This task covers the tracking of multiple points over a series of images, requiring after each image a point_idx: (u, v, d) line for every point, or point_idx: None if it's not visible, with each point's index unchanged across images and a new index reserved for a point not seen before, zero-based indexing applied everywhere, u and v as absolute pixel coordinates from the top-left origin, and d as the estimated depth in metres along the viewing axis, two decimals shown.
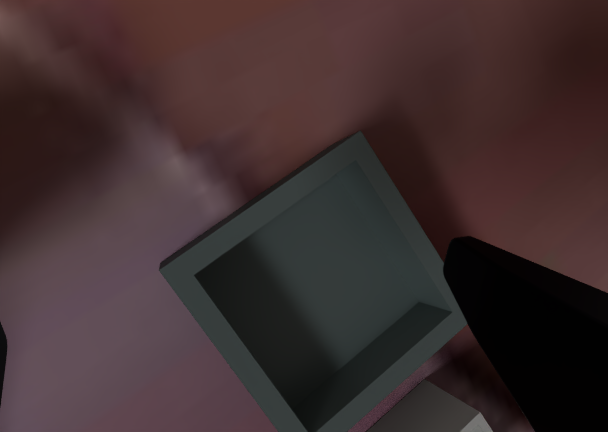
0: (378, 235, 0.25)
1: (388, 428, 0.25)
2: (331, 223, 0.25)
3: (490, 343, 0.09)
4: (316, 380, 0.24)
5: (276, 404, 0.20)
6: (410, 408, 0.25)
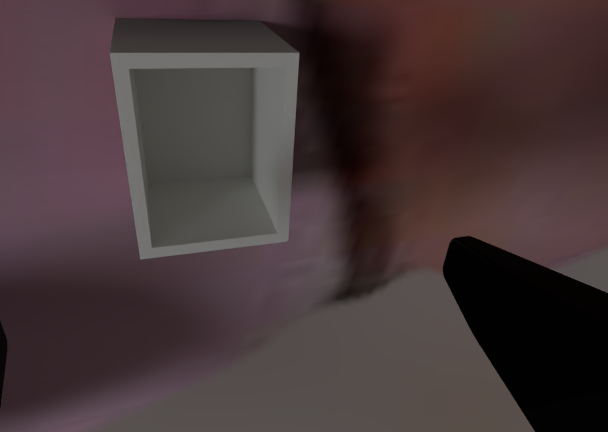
0: None
1: (162, 25, 0.15)
2: None
3: (490, 343, 0.09)
4: None
5: None
6: (212, 26, 0.16)
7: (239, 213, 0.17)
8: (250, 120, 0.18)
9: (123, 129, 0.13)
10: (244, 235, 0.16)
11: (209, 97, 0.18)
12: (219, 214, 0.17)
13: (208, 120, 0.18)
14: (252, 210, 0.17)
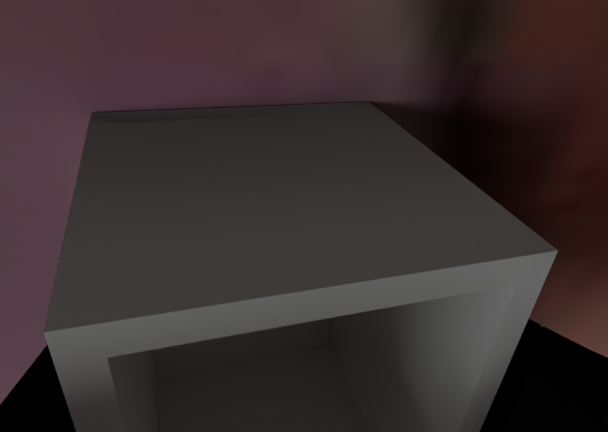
0: None
1: (189, 133, 0.07)
2: None
3: None
4: None
5: None
6: (290, 128, 0.08)
7: None
8: None
9: None
10: None
11: None
12: None
13: None
14: None
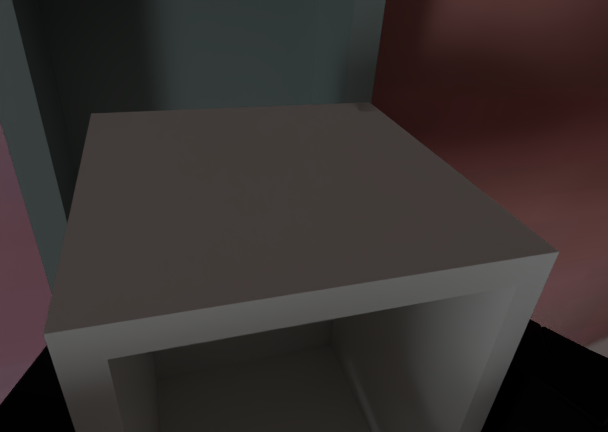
0: None
1: (189, 134, 0.07)
2: (270, 50, 0.17)
3: None
4: None
5: (53, 221, 0.14)
6: (291, 129, 0.08)
7: None
8: None
9: None
10: None
11: None
12: None
13: None
14: None
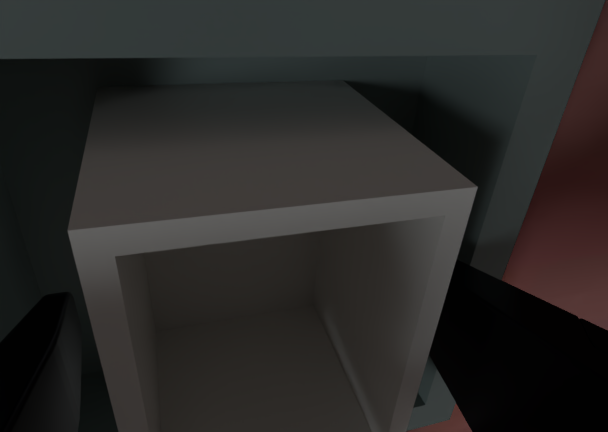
0: None
1: (181, 103, 0.08)
2: None
3: (438, 354, 0.09)
4: None
5: None
6: (270, 100, 0.09)
7: (309, 402, 0.10)
8: (318, 231, 0.12)
9: (106, 364, 0.06)
10: None
11: None
12: (277, 406, 0.10)
13: None
14: (329, 392, 0.10)
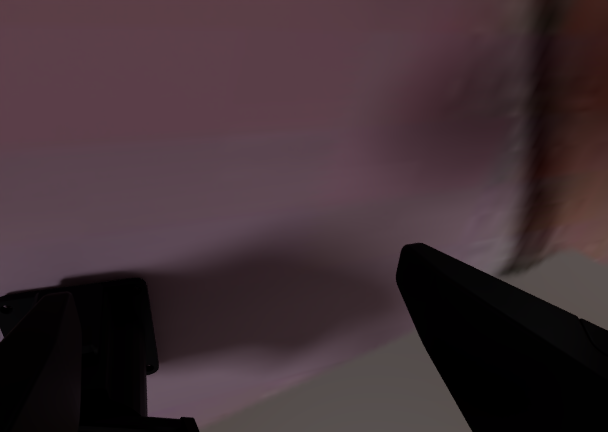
0: None
1: None
2: None
3: (438, 354, 0.09)
4: None
5: None
6: None
7: None
8: None
9: None
10: None
11: None
12: None
13: None
14: None
